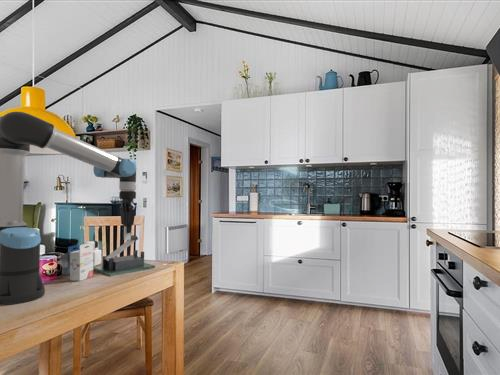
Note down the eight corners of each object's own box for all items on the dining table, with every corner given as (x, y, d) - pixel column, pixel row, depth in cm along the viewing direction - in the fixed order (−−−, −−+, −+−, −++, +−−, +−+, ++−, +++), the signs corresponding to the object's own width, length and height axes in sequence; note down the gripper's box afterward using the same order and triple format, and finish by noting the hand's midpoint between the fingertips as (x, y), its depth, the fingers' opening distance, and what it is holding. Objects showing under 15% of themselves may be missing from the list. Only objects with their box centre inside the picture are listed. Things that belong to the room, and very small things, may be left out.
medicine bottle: (87, 263, 168) (88, 240, 169) (101, 263, 168) (101, 240, 169) (80, 266, 161) (80, 241, 162) (94, 266, 161) (94, 242, 161)
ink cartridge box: (83, 275, 142) (84, 241, 143) (93, 276, 141) (94, 242, 142) (68, 280, 134) (69, 244, 134) (79, 281, 133) (80, 245, 133)
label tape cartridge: (73, 270, 153) (74, 243, 153) (81, 270, 153) (81, 243, 153) (59, 274, 144) (60, 246, 145) (67, 274, 144) (68, 246, 144)
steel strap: (109, 262, 148) (107, 258, 148) (105, 260, 151) (103, 257, 151) (138, 239, 159) (136, 235, 158) (134, 238, 162) (132, 235, 161)
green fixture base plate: (110, 276, 142) (110, 258, 142) (92, 269, 154) (93, 253, 154) (155, 268, 158) (155, 252, 158) (136, 262, 170) (136, 248, 170)
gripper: (141, 190, 156) (141, 240, 156) (128, 191, 165) (127, 237, 164) (127, 190, 151) (126, 241, 150) (113, 190, 159) (113, 239, 159)
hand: (127, 239), depth 157 cm, fingers closed
